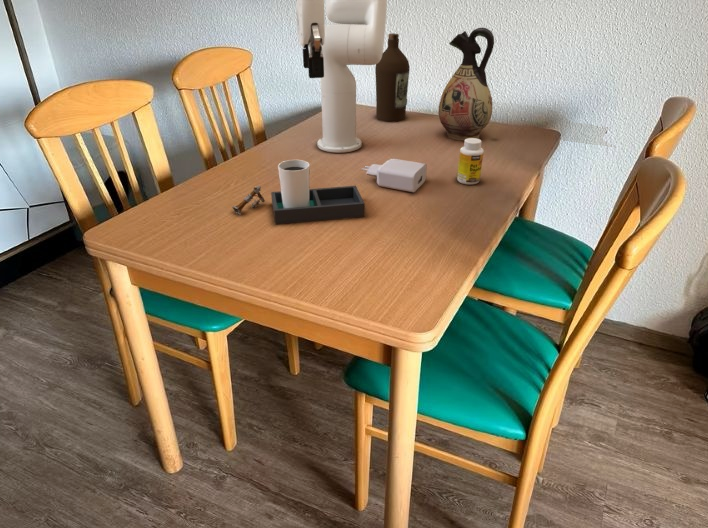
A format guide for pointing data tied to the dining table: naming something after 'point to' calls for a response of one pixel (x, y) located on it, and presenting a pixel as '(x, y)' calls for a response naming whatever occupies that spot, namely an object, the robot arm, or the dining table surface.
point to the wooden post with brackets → (248, 199)
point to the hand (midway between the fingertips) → (313, 72)
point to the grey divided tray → (321, 205)
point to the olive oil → (392, 82)
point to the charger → (399, 174)
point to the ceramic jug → (467, 90)
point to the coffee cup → (294, 183)
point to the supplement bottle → (470, 162)
